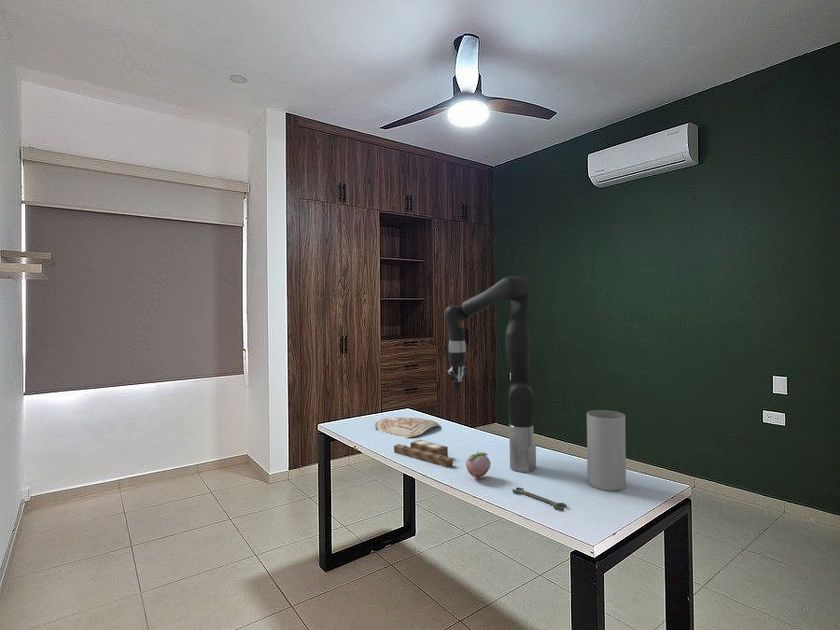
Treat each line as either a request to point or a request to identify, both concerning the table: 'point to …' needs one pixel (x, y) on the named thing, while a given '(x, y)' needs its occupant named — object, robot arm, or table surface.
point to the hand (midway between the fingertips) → (457, 389)
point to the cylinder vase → (606, 450)
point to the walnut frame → (430, 447)
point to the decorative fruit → (478, 464)
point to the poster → (404, 426)
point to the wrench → (540, 499)
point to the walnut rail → (423, 455)
